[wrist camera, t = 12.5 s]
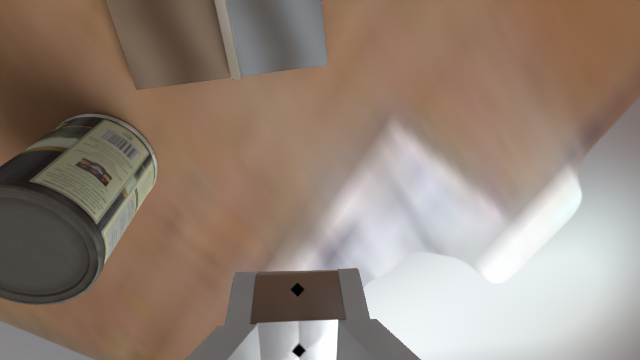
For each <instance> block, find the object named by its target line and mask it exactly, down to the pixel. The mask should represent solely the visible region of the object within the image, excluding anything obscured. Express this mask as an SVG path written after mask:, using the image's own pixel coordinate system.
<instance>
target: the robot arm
mask: <svg viewBox="0 0 640 360" xmlns="http://www.w3.org/2000/svg"><path fill="white" fill-rule="evenodd" d="M185 360H421V359H419V358H418V357H417V356H416V355H415V354H414V353H413V352H412V351H411V350H409V348H407V347H406V346H405V345H404V344H403V343H402V342H401V341H400V340H399V339H398V338H396V337H395V336H394V335H393V334H392V333H391V332H390V331H389V330H387V328H386V327H384V326H383V325H382V324H381V323H380V322H379V321H378V320H377V319H370V317H369V312H368V308H367V304H366V299H365V295H364V291H363V286H362V282H361V278H360V273H359V270H358V269H357V268H352V269H337V270H315V271H277V272H236V273H235V275H234V277H233V283H232V288H231V294H230V299H229V305H228V310H227V316H226V321H225V325H223V326H218V327H217V328H216V329H215V330H214V331H213V332H212V333H211V334H210V335H209V336H208V337H207V338H206V339H205V340H204V341H203V342H202V343H201V344H200V345H199V346H198V347H197V348H196V349H195V350H194V351H193V352H192V353H191V354H190V355H189V356H188V357H187V358H186V359H185Z"/></svg>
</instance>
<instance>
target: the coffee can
mask: <svg viewBox="0 0 640 360" xmlns="http://www.w3.org/2000/svg"><path fill="white" fill-rule="evenodd" d="M156 178H157V160H156V157H155V154H154V152H153V150H152V148H151V146H150V144H149V143H148V141H147V140H146V139H145V138H144V137H143V136H142V135H141V134H140V133H139V132H138V131H137V130H136V129H134V128H133V127H132V126H130V125H129V124H127V123H125V122H123V121H121V120H119V119H116V118H114V117H111V116H107V115H101V114H82V115H77V116H74V117H71V118H69V119H67V120H65V121H63V122H62V123H61V124H60V125H59V126H58V127H57V128H55V129H54V130H53V131H51V132H50V133H48V134H47V135H45V136H44V137H43V138H41V139H40V140H38V141H37V142H35V143H34V144H33V145H31V146H30V147H28V148H27V149H25V150H24V151H23V152H21V153H20V154H18V155H17V156H15V157H14V158H12V159H11V160H9V161H8V162H6V163H5V164H4V165H2V166H0V298H2V299H6V300H10V301H13V302H18V303H23V304H32V305H51V304H58V303H63V302H66V301H70V300H72V299H75V298H77V297H79V296H81V295H82V294H84V293H85V292H87V291H88V290H89V289H90V288H91V287H92V286H93V285H94V284H95V282H96V281H97V279H98V277H99V275H100V273H101V271H102V269H103V266H104V264H105V262H106V261H107V259H108V257H109V256H110V254H111V252H112V251H113V249H114V248H115V246H116V244H117V243H118V241H119V239H120V238H121V236H122V235H123V233H124V231H125V230H126V228H127V226H128V225H129V223H130V222H131V220H132V218H133V217H134V215H135V213H136V212H137V210H138V209H139V207H140V205H141V204H142V202H143V200H144V199H145V197H146V196H147V194H148V193H149V192H150V191H151V189H152V188H153V186H154V184H155V181H156Z"/></svg>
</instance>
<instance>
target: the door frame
mask: <svg viewBox="0 0 640 360" xmlns="http://www.w3.org/2000/svg"><path fill="white" fill-rule="evenodd" d="M106 2H107V5H108V8H109V11H110V14H111V17H112V20H113V23H114V26H115V29H116V32H117V35H118V37H119V40H120V43H121V46H122V49H123V52H124V55H125V58H126V61H127V64H128V67H129V70H130V73H131V76H132V78H133V81H134V84H135V87H136V90H141V89H148V88H156V87H163V86H171V85H178V84H186V83H193V82H201V81H209V80H216V79H224V78H232V80H236V79H241V78H242V76H246V75H254V74H261V73H269V72H276V71H284V70H292V69H299V68H307V67H314V66H322V65H328V63H327V53H326V44H325V34H324V24H323V15H322V5H321V0H106Z"/></svg>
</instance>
